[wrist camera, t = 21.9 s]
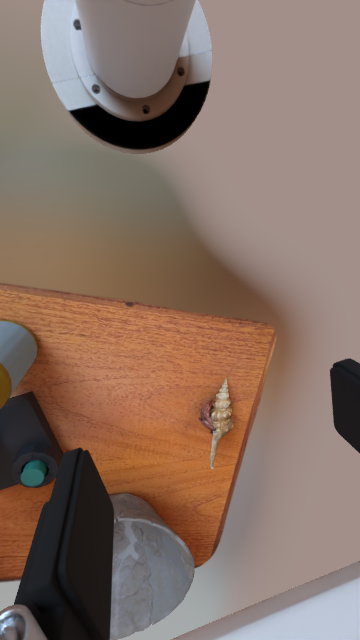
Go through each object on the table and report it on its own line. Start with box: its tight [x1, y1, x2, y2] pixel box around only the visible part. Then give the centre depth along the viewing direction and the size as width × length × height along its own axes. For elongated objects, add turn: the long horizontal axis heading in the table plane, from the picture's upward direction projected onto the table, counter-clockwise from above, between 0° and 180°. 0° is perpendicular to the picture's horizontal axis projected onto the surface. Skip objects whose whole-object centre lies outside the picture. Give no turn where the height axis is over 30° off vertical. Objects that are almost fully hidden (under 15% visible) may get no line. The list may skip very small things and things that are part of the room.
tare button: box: [21, 460, 47, 486], centre depth 37 cm, size 3×3×2 cm
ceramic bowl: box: [109, 493, 195, 640], centre depth 42 cm, size 22×23×10 cm
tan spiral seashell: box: [199, 377, 234, 469], centre depth 43 cm, size 14×5×4 cm, turn 8°
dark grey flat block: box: [0, 392, 63, 490], centre depth 38 cm, size 12×12×4 cm
